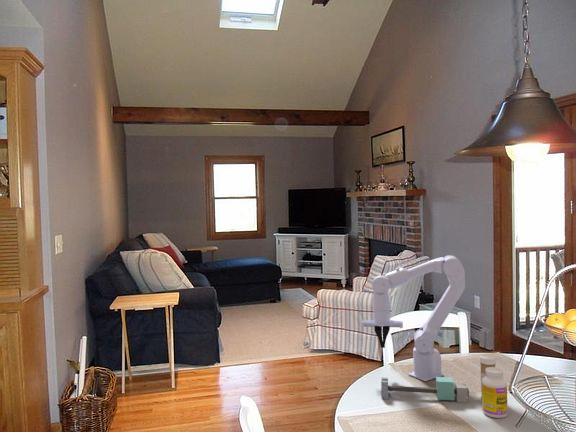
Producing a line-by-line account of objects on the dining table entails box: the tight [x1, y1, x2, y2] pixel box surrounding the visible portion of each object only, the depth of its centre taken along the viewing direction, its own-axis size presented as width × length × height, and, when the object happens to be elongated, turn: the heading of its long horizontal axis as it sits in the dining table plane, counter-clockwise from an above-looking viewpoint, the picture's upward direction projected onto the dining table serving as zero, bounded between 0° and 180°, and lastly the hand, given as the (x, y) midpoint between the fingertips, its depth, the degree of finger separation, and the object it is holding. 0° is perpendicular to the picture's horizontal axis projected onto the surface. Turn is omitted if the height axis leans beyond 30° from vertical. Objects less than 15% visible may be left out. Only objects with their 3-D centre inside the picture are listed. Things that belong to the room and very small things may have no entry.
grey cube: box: [455, 382, 470, 404], centre depth 146 cm, size 4×4×4 cm
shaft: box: [388, 385, 457, 395], centre depth 149 cm, size 23×1×1 cm, turn 77°
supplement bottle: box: [481, 366, 509, 419], centre depth 136 cm, size 7×7×13 cm
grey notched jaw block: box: [380, 377, 390, 400], centre depth 151 cm, size 2×5×5 cm, turn 167°
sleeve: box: [435, 376, 455, 401], centre depth 147 cm, size 5×4×6 cm
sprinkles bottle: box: [479, 353, 497, 399], centre depth 146 cm, size 5×5×13 cm
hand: (382, 346), depth 170 cm, fingers closed
